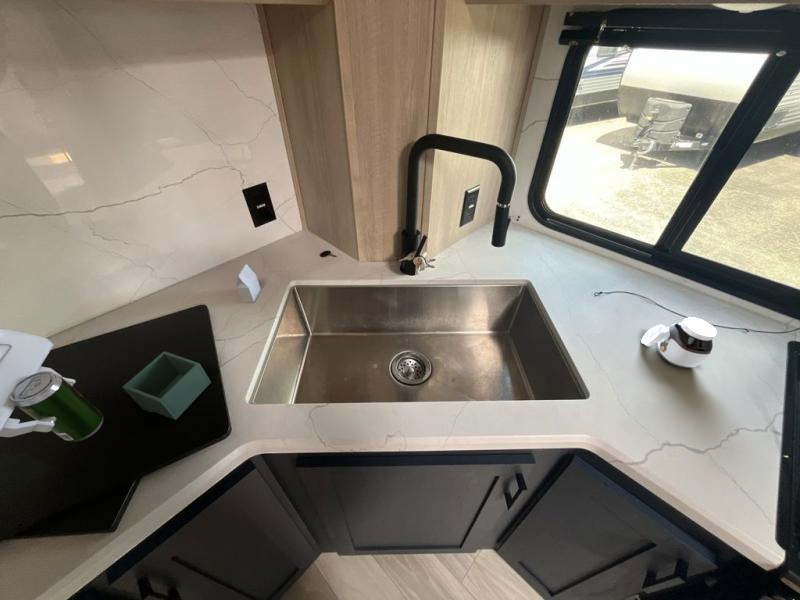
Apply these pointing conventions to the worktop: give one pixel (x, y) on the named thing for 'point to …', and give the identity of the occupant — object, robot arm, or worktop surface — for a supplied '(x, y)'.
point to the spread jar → (682, 341)
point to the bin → (168, 385)
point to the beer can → (57, 405)
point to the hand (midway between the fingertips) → (64, 404)
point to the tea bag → (247, 285)
